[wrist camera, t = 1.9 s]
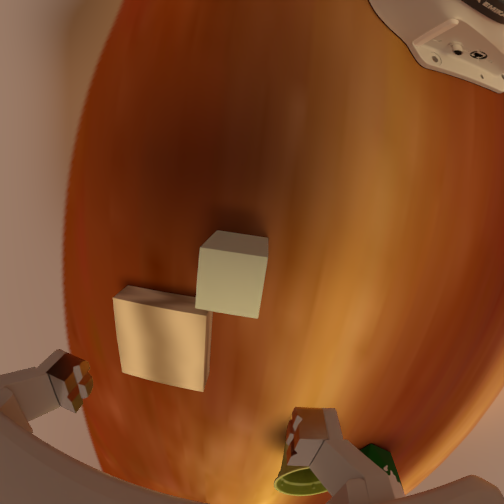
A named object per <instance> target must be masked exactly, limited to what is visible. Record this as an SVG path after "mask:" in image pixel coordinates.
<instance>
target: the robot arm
mask: <svg viewBox="0 0 504 504" xmlns="http://www.w3.org/2000/svg"><path fill="white" fill-rule="evenodd" d="M369 2H370V4H371V5H372V7H373V9H374V10H375V12H376V13H377V14H378V16H379V17H380V18H381V19H382V21H383V22H384V23H385V24H386V25H387V26H388V27H389V28H390V29H391V30H392V31H393V32H394V33H396V34H397V35H398V36H399V37H400V38H401V39H402V40H403V41H404V42H405V43H406V44H407V46H408V47H409V49H410V51H411V52H412V54H413V56H414V57H415V59H416V60H417V61H418V63H419V64H420V65H421V66H423V67H425V68H427V69H431V70H435V71H438V72H442V73H445V74H448V75H452V76H455V77H458V78H461V79H464V80H466V81H469V82H472V83H475V84H477V85H480V86H482V87H485V88H487V89H490V90H492V91H495V92H497V93H502V92H504V0H369ZM432 58H433V59H434V61H435V62H434V61H433V59H432ZM89 369H90V366H89V363H88V362H87V361H86V360H83V359H81V358H78V357H76V356H74V355H72V354H69V353H67V352H64V351H62V350H60V349H59V350H56V351H55V352H53V353H52V354H51V355H50V356H49V357H48V358H47V359H46V360H45V361H44V362H43V363H42V364H40V365H39V366H38V367H37V368H36V367H32V368H28V369H24V370H20V371H16V372H11V373H8V374H3V375H0V504H208V503H203V502H198V501H193V500H188V499H184V498H180V497H176V496H172V495H168V494H164V493H161V492H157V491H154V490H151V489H147V488H144V487H141V486H138V485H135V484H132V483H130V482H127V481H124V480H122V479H119V478H116V477H114V476H111V475H109V474H107V473H104V472H102V471H100V470H97V469H95V468H93V467H91V466H88V465H86V464H84V463H82V462H80V461H78V460H76V459H74V458H72V457H70V456H69V455H67V454H65V453H63V452H61V451H59V450H58V449H56V448H54V447H52V446H51V445H49V444H48V443H46V442H44V441H42V440H41V439H39V438H38V437H36V436H35V435H33V434H32V433H33V430H32V428H31V427H30V425H29V423H28V421H30V420H33V419H35V418H37V417H39V416H42V415H43V414H46V413H48V412H50V411H52V410H54V409H57V408H58V407H60V406H61V407H64V408H65V409H67V410H70V411H72V412H74V413H76V412H77V411H78V409H79V408H80V407H81V405H82V404H83V398H86V397H88V396H89V395H90V393H91V391H92V388H93V379H92V376H91V375H90V373H89V372H88V371H89ZM286 443H287V444H288V446H289V447H288V449H287V452H286V455H287V465H291V466H309V468H310V469H311V470H312V472H313V473H314V474H315V476H316V477H317V478H318V479H319V481H320V482H321V483H322V484H323V486H324V487H325V488H326V489H327V490H328V492H329V493H330V494H331V495H332V498H331V499H330V500H329V501H328V502H327V503H326V504H504V497H503V495H502V494H501V491H500V490H499V489H498V488H497V487H496V486H495V485H493V484H491V483H489V482H488V481H486V480H484V479H482V478H480V477H478V476H476V475H469V476H466V477H463V478H461V479H458V480H456V481H453V482H451V483H448V484H445V485H442V486H440V487H437V488H434V489H431V490H427V491H424V492H421V493H417V494H414V495H410V496H407V497H402V498H398V499H395V497H394V494H393V490H392V487H391V484H390V480H389V477H388V474H387V473H386V472H385V471H384V470H382V469H381V468H380V467H379V466H377V465H376V464H375V463H374V462H373V461H371V460H370V459H369V458H368V457H367V456H365V455H364V454H363V453H362V452H361V451H360V450H358V449H357V448H356V447H355V446H354V445H353V444H351V443H350V442H349V441H348V440H343V436H342V432H341V428H340V424H339V420H338V416H337V412H336V410H335V408H307V407H295V408H294V410H293V412H292V420H290V421H289V423H288V426H287V431H286Z"/></svg>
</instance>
